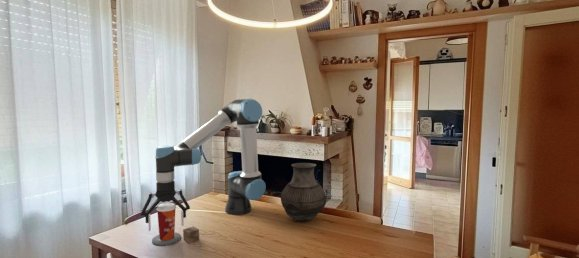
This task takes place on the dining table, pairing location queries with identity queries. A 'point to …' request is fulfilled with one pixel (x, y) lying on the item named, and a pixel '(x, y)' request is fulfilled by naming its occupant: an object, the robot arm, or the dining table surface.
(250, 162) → the robot arm
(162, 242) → the slate coaster
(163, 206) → the coffee cup
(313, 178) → the vase
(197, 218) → the dining table surface
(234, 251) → the dining table surface
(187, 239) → the walnut cube
